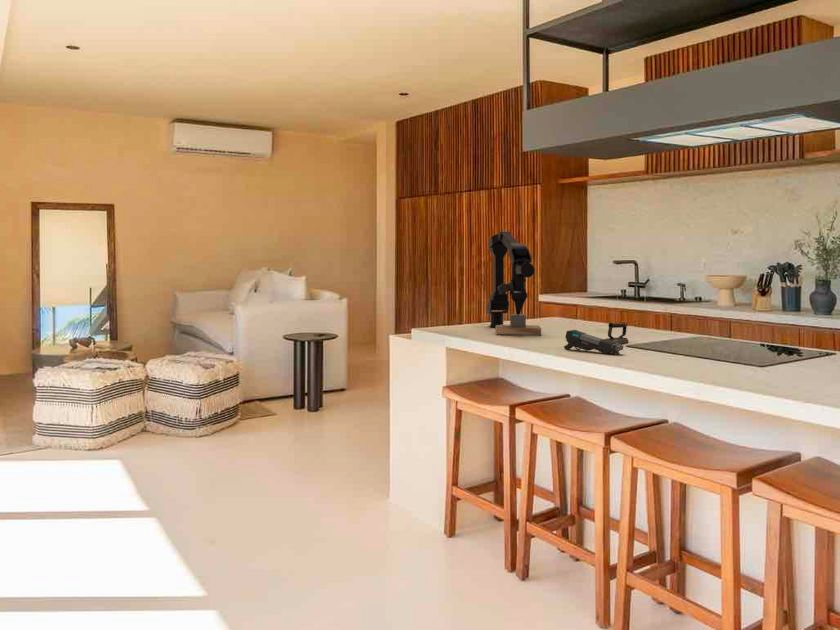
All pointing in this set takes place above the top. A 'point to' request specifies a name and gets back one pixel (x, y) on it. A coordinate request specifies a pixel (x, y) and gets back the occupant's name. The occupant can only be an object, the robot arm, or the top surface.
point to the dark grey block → (518, 320)
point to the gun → (591, 343)
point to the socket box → (518, 330)
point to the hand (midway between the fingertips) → (518, 314)
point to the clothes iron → (620, 339)
